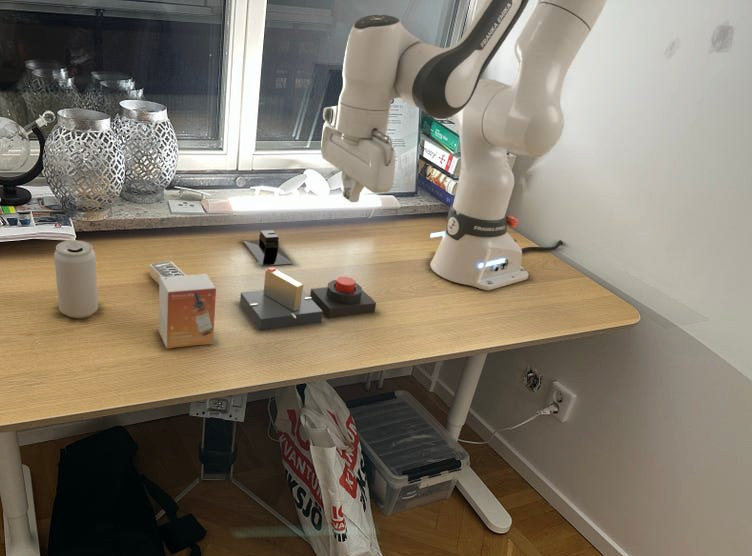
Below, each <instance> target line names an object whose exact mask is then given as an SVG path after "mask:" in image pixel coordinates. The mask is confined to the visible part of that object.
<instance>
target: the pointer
mask: <svg viewBox="0 0 752 556" xmlns="http://www.w3.org/2000/svg"><path fill="white" fill-rule="evenodd" d="M264 273H265V274H264V285H263V290H264V293H263V294H265V295H266V296H268V297H270V298H271V299H273V300H275V301H277V302H278V303H280V304H282V305H284V306H285V307H287V308H289V309H290V310H292V311H297V310H299V309H300V306H301V298H302V291H303V289H304V284H303V283H301V282H300V281H298V280H296V279H295V278H292V277H291V276H289V275H286V274H285V273H283V272H281V271H279V270H278V269H277V268H276V267H275V266H269V267H267V268H266V269H265V272H264Z"/></svg>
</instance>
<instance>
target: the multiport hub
mask: <svg viewBox="0 0 752 556" xmlns="http://www.w3.org/2000/svg"><path fill="white" fill-rule="evenodd" d="M186 275H187V274H185V273H184V272H183V271H182V270H181V269H180V268H179V267H178V266H176V264H175V263H174V262H172V261H171V260H170V261H169V260H168V261H162V262H155V263H150V264H149V276H150V277H151V278H152V279H153V280H154V281H155V282H156V283H157V285H159V279H160V277H172V276H186Z"/></svg>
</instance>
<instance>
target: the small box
mask: <svg viewBox="0 0 752 556" xmlns="http://www.w3.org/2000/svg"><path fill="white" fill-rule="evenodd" d="M185 275H186V276H172V277H160V279H159V284H158V286H159V289H158V293H159V294H158V296H159V297H158V299H159V300H158V302H159V303H158V332H159V335H160V337H161V339H162V342H163V344H164V345H165V348H166V349H174V348H183V347H189V346H190V347H191V346H192V347H193V346H202V345H212V344H214V335H215V333H214V332H215V317H216V316H215V315H216V301H217V288H216V286H215V285H214V283H213V282H212V280H211V278H210V276H209V275H208V274H207V273H200V274H189V275H187V274H185Z"/></svg>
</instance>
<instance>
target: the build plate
mask: <svg viewBox="0 0 752 556" xmlns="http://www.w3.org/2000/svg"><path fill="white" fill-rule="evenodd" d="M279 238H280V236H279V235H278V234H276V232H275V231H274V230H272V229H271V230H269V229H268V230H260V231H259V237H258V239H257V240H244V241H243V244H244V245H245V247H246V248H247V249H248V251H249V253H251V255H252V256H253V257H254V259H255V260H256V261H257V264H258V266H261V267H276V266H291V265H292V266H293V264H294V263H293V261H292V260H291V259H290V258H289V256H287V255H286V253H285V252H284V250H283V249H281V247H280V246H279V244H280V243H279V240H280V239H279Z"/></svg>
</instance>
